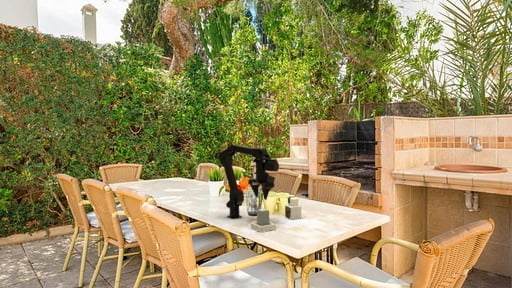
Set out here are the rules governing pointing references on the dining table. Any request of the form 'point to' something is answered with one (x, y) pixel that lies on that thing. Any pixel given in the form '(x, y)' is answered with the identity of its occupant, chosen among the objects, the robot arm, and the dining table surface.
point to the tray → (263, 227)
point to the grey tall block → (262, 217)
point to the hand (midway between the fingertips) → (261, 198)
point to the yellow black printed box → (293, 208)
